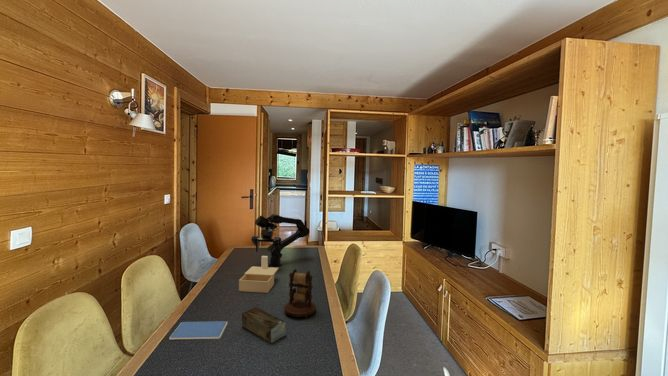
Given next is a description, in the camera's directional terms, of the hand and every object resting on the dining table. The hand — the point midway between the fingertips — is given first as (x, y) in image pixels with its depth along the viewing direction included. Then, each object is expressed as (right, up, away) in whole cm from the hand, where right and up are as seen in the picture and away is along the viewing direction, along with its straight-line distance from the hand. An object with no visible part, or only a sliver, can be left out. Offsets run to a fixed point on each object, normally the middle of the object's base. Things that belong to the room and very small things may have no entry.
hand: (263, 252), depth 187 cm
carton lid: (+2, -8, -13) cm, 15 cm away
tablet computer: (-11, -19, -65) cm, 69 cm away
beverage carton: (+15, -19, -64) cm, 68 cm away
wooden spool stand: (+28, -18, -47) cm, 58 cm away
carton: (+1, -15, -21) cm, 26 cm away
